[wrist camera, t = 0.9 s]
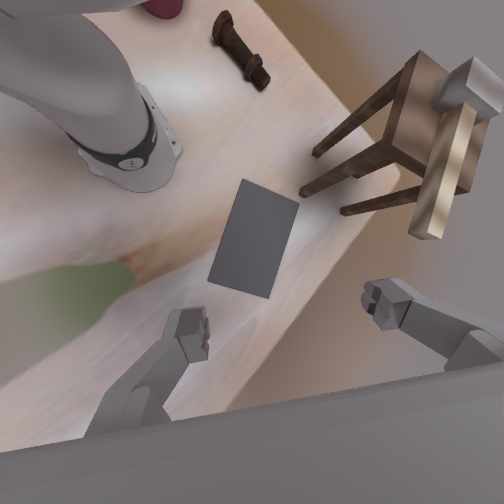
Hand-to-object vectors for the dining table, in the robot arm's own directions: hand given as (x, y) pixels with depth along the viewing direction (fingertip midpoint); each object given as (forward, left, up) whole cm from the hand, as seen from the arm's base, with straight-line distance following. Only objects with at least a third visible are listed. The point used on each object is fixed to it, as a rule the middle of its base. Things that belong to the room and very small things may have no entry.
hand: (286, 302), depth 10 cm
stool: (-8, +35, -37) cm, 52 cm away
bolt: (-42, +21, -38) cm, 60 cm away
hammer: (-3, +31, -11) cm, 33 cm away
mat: (-1, +9, -37) cm, 39 cm away
